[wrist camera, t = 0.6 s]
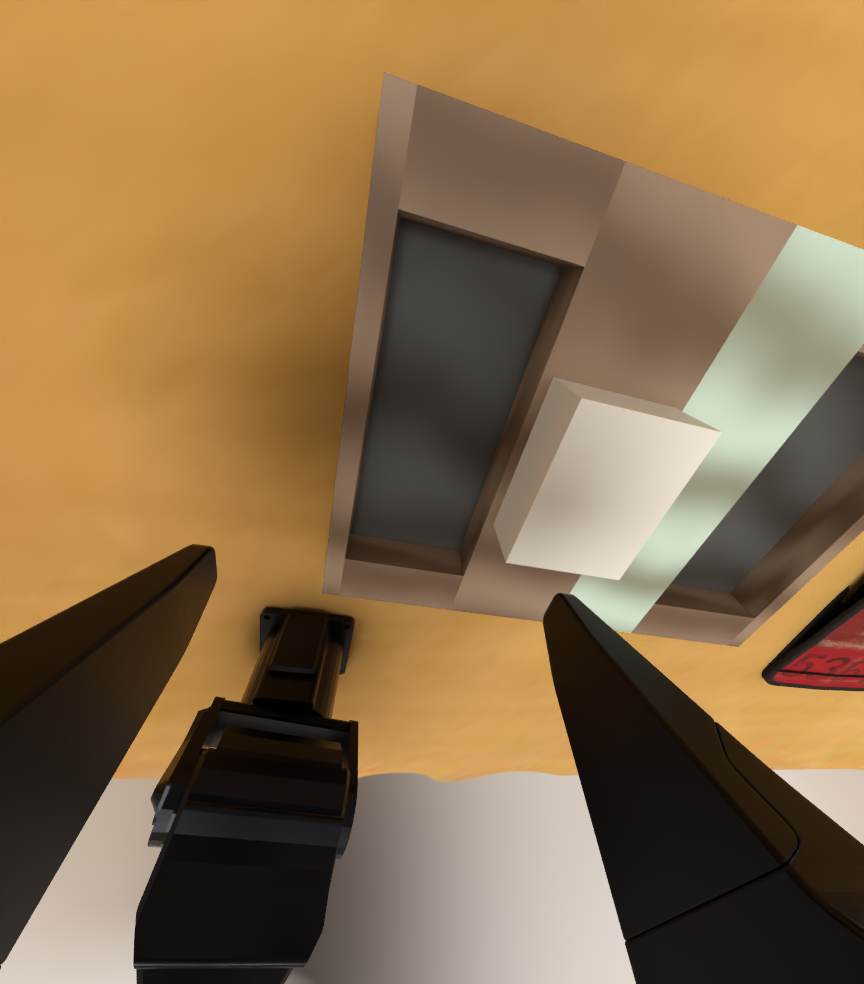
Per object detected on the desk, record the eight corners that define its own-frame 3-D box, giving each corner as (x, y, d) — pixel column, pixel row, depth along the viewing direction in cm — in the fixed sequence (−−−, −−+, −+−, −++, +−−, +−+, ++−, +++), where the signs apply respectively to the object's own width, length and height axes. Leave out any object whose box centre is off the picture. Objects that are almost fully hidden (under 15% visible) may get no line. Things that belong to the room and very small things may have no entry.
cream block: (593, 541, 20) (619, 580, 18) (493, 524, 19) (505, 563, 17) (673, 407, 16) (722, 432, 14) (553, 377, 15) (581, 398, 13)
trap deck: (714, 618, 28) (738, 646, 26) (330, 564, 24) (322, 593, 21) (997, 322, 17) (1079, 329, 15) (388, 106, 13) (383, 72, 10)
